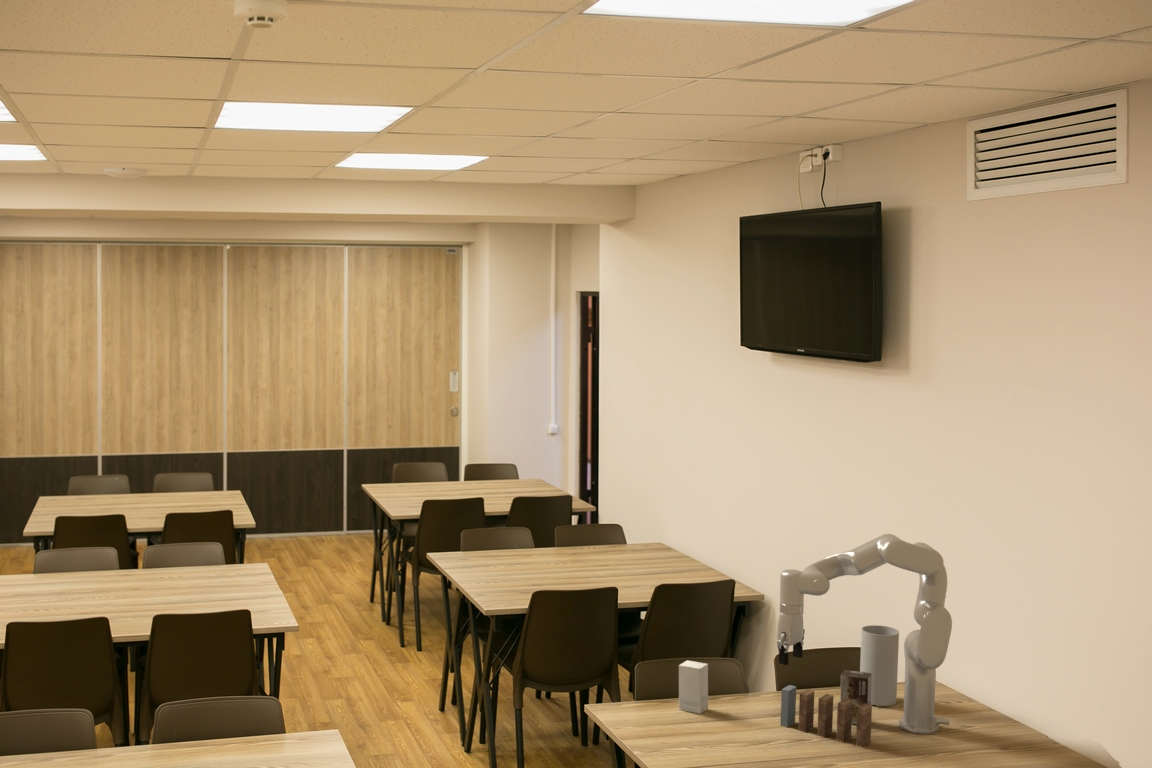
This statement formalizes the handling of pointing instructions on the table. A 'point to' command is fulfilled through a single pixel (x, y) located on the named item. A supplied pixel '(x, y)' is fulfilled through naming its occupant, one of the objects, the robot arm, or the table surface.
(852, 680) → the coffee box
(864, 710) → the domino
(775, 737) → the table surface
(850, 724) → the domino
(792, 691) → the tile
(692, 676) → the skincare box
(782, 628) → the robot arm
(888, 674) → the cylinder vase
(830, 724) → the domino
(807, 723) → the domino
